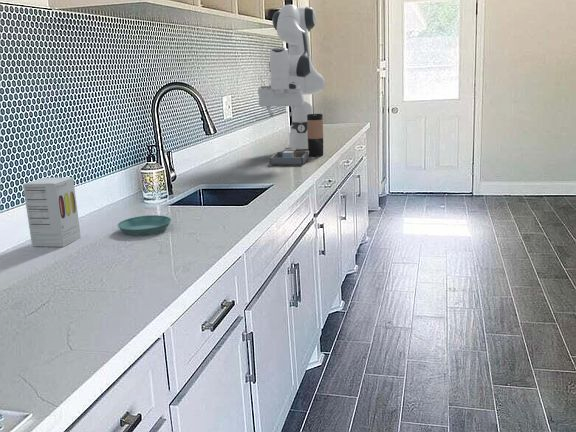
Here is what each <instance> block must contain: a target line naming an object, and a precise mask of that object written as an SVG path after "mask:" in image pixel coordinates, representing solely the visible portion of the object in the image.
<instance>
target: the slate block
mask: <svg viewBox="0 0 576 432" xmlns="http://www.w3.org/2000/svg"><path fill="white" fill-rule="evenodd" d="M282 152H283V158H293V157H294V151H285V150H284V151H282Z"/></svg>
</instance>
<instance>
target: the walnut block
mask: <svg viewBox="0 0 576 432" xmlns="http://www.w3.org/2000/svg"><path fill="white" fill-rule="evenodd" d="M284 151H294V157H296V152H297V149H290V148H285V150H284Z"/></svg>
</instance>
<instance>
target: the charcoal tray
mask: <svg viewBox="0 0 576 432" xmlns="http://www.w3.org/2000/svg"><path fill="white" fill-rule="evenodd" d="M283 152H284V151H276V152H275V153H274V154H273V155H271V156H270V157H269V166H270V167H278V166H279V167H281V166H283V167H284V166H285V167H286V166H289V165H298V166H304V165H305V164H306V162H307V161H308V160H309V152H308V150H307V151H303V150H302V151H296V157H293V158H283ZM289 167H290V166H289Z"/></svg>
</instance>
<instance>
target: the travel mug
mask: <svg viewBox="0 0 576 432" xmlns="http://www.w3.org/2000/svg"><path fill="white" fill-rule="evenodd" d="M323 117H324V116H323V113H313V114H308V115H307V132H308V149H307V151H308V157H312V158H316V157H318V158H319V157H323V156H324V121H323V120H324V119H323Z"/></svg>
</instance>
